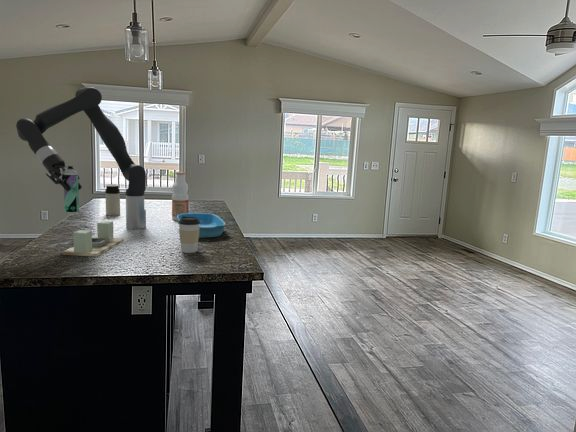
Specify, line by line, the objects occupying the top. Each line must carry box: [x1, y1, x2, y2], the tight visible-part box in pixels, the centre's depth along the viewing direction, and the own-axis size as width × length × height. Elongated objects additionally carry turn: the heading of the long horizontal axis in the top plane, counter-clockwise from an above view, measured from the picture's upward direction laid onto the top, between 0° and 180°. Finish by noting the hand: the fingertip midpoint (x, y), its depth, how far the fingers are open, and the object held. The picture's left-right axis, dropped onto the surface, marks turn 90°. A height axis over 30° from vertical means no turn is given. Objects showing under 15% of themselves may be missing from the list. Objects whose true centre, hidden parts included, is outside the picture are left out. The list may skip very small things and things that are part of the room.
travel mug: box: [104, 183, 121, 217], centre depth 255 cm, size 8×8×18 cm
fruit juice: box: [171, 171, 189, 222], centre depth 250 cm, size 9×9×28 cm
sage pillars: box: [72, 220, 114, 253], centre depth 183 cm, size 25×5×8 cm, turn 178°
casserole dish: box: [177, 212, 226, 239], centre depth 224 cm, size 37×22×7 cm, turn 22°
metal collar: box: [92, 237, 109, 248], centre depth 184 cm, size 9×9×2 cm
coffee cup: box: [178, 216, 200, 254], centre depth 185 cm, size 9×9×15 cm
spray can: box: [63, 165, 80, 215], centre depth 180 cm, size 6×6×20 cm
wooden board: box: [62, 236, 125, 258], centre depth 184 cm, size 26×14×1 cm, turn 178°
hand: (74, 189), depth 180 cm, fingers closed on spray can, 5 cm apart
